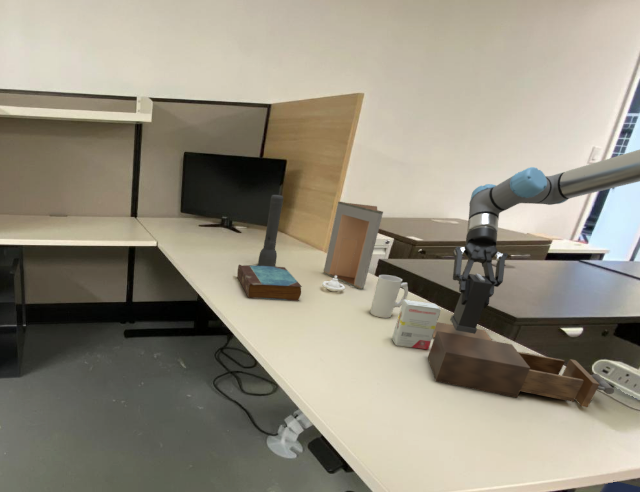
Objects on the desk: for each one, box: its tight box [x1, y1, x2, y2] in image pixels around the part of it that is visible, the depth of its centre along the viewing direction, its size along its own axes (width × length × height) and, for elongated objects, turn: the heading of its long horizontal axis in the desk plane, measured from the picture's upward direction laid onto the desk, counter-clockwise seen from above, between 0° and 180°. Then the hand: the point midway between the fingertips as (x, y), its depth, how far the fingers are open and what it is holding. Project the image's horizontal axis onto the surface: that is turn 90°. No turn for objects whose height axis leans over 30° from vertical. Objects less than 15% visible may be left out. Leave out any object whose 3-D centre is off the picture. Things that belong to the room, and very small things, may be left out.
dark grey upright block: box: [450, 273, 492, 334], centre depth 132 cm, size 5×9×15 cm, turn 161°
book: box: [236, 264, 303, 302], centre depth 162 cm, size 23×18×5 cm
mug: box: [369, 274, 409, 319], centre depth 145 cm, size 10×7×12 cm, turn 89°
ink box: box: [391, 299, 442, 350], centre depth 125 cm, size 9×5×12 cm, turn 78°
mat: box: [432, 321, 493, 341], centre depth 136 cm, size 16×14×1 cm
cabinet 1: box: [322, 201, 384, 290], centre depth 175 cm, size 21×10×28 cm, turn 23°
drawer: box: [517, 351, 615, 408], centre depth 106 cm, size 20×12×6 cm, turn 71°
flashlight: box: [257, 194, 284, 267], centre depth 185 cm, size 7×28×7 cm
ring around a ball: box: [321, 275, 346, 293], centre depth 166 cm, size 8×6×8 cm
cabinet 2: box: [427, 331, 530, 399], centre depth 110 cm, size 17×14×8 cm
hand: (474, 304), depth 128 cm, fingers closed on dark grey upright block, 4 cm apart
